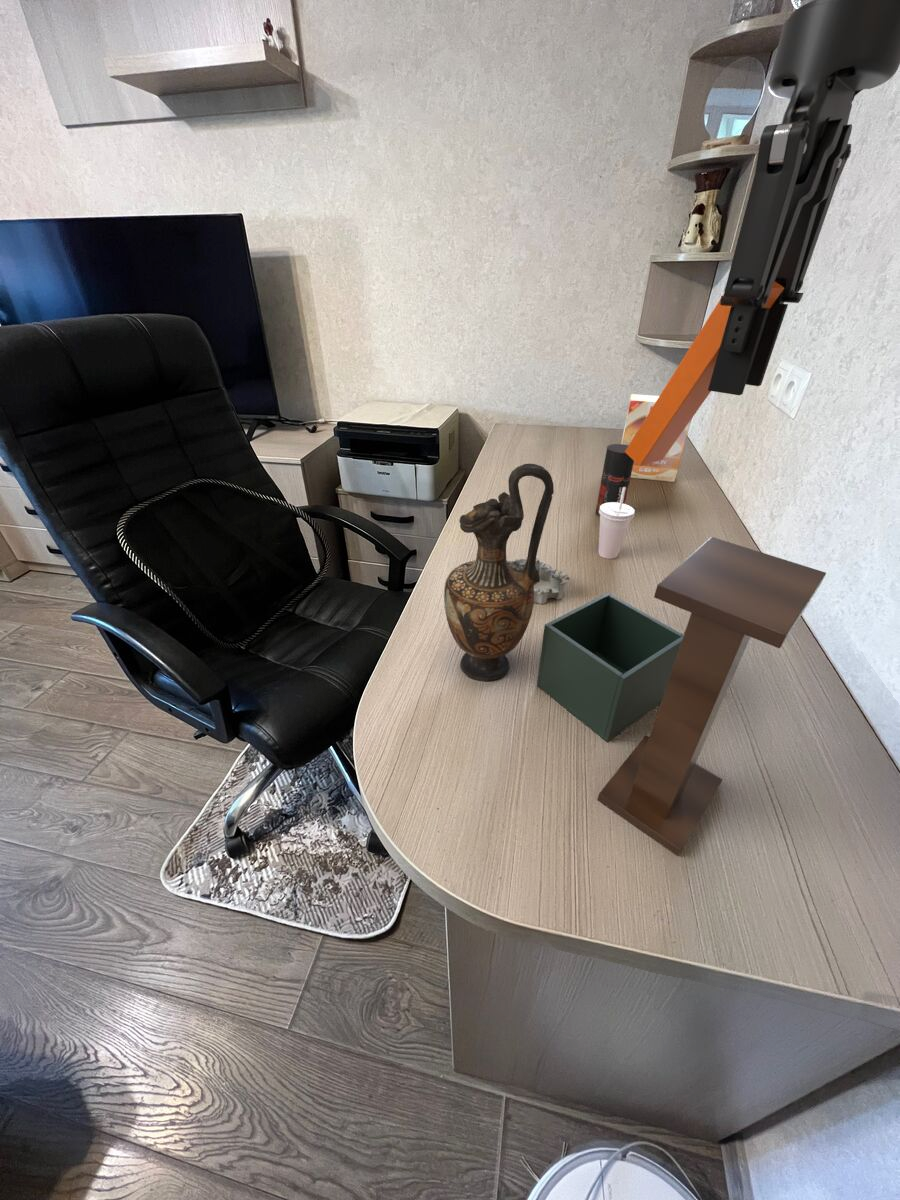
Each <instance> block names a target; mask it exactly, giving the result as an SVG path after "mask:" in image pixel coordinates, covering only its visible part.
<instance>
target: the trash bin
mask: <svg viewBox="0 0 900 1200" xmlns="http://www.w3.org/2000/svg"><path fill="white" fill-rule="evenodd" d="M683 636H684V634H683V633H681V632H680V631H677V630H676V629H674V628H672V627H671V626H669V625H666V624H665V623H663V622H661V621H660V620H658V619H656V618H655V617H653V616H651V615H649V614H647V613H645V612H643V611H642V610H640V609H638V608H637V607H635V606H633V605H631V604H629V603H627V602H625V601H624V600H622V599H620V598H618V597H617V596H615V595H613V594H611V592H606V593H604V594H602V595H599V596H598V597H596V598H594V599H592V600H590V601H588V602H586V603H584V604H582V605H580V606H578V607H576V608H574V609H572V610H570V611H568V612H567V613H565V614H563V615H560V616H559V617H557V618H555V619H553V620H550V621H549V622H547V623H545V624H544V626H543V635H542V642H541V648H540V649H541V650H540V657H539V664H538V672H537V679H536V680H537V681H536V686H537V687H538V688H539V689H541V691H543V692H544V693H546V694H547V696H549V697H550V698H552V699H553V700H554V701H555V702H557V703H558V704H559V705H560V706H561V707H562V708H564V709H565V710H566V711H567V712H569V713H570V714H571V715H573V716H574V717H575V718H576V719H578V720H579V721H580V722H581V723H582V724H584V725H585V726H586V727H587V728H589V729H590V730H591V731H593V732H594V733H595V734H596V735H598V737H600V738H601V739H602V740H604V741H605V742H606V743H609V742H610V741H611V740H613V739H614V738H616V737H617V736H619V735H620V734H621V733H623V732H624V731H625V730H626V729H628V728H629V727H630V726H632V725H633V724H635V723H636V722H637V721H638V720H641V718H643V717H645V715H647V714H648V713H650V712H652V710H654V709H655V708H656V707H658V706H660V704H661V701H662V698H663V695H664V692H665V689H666V686H667V684H668V681H669V678H670V675H671V672H672V669H673V666H674V663H675V660H676V657H677V654H678V651H679V648H680V645H681V642H682V639H683Z"/></svg>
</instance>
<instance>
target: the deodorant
mask: <svg viewBox="0 0 900 1200" xmlns="http://www.w3.org/2000/svg"><path fill="white" fill-rule="evenodd" d="M628 446H629V445H625V444H621V443H613V444H608V445H606V451H605V457H604V463H603V467H602V474H601V478H600V479H601V480H600V485H599V491H598V496H597V502H596V507H595V515H596V516H597V517H599V518H600V514H599V510H600V506H601V505H602V504H604V503H609V502H618V503H620V498H621V494H622V489H623V487H626V490H625V495H624V499H623V504H626V500H627V497H628V491H629V487H630V482H631V478H630V477H631V473H632V468H633V463H634V460H633V459H632V458H631V457H630V456H629V455H627V454H626V453H625V450H626V449H627V447H628Z"/></svg>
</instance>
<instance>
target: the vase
mask: <svg viewBox="0 0 900 1200" xmlns="http://www.w3.org/2000/svg"><path fill="white" fill-rule="evenodd" d="M524 477H533V478H536V479H538V480H540V481H542V483H543V485H544V490H543V493H542V497H541V499H540V502H539V505H538V508H537V512H536V514H535V515H536V516H535V519H534V523H533V527H532V531H531V535H530V541H529V545H528V549H527V550H528V551H527V557H526V558H527V562H526V565H525V568H524V570H523V569H521V568H520V567H518V566H516V565H515V564H512V563H509V562H507V561H508V559H507V544H508V540H509V538H510V536H511V535H512V534H513V532H517V531H518V530H519V529H520V528H521V527H522V524H523V520H524V517H525V515H524V514H525V513H524V507H523V502H522V498H521V494H520V487H519V484H520V483H519V482H520V480H521V479H522V478H524ZM507 483H508V493H507V492H506V491H503V492H501V493H500V494H499V495H498V496H497V499H496V498H489V499H488V500H487V501H485V502H480V503H477V504H475V505H473V506H472V508H473V509H472V510H471V511H469V512H467V513H466V514H461V516H460V517H459V519H458V520H459V527H460V530H461V531H462V532H463V533H466V534H472V533H473V535H474V536H475V539H476V541H477V550H476V558H475V560H470V561H467V562H464V563H461V564H460V565H458V566H457V567H455V568H454V569H452V570H451V571H450V572H449V574H448V575H447V578H446V580H445V582H444V583H445V584H444V591H443V592H444V593H443V595H444V596H443V599H444V600H443V601H444V612H445V616H446V617H445V618H446V622H447V624H448V628H449V630H450V633H451V636H452V638H453V640H454V641H455V643H456V644H457V646H458V647H459V648H460V649H461V650H462V651H463V652H464V654H463V655H462V657H461V659H460V662H459V664H460V665H459V666H460V670H461V671H462V672H463V674H464V675H465V676H466V677H468V678H470V679H472V680H475V681H480V682H491V681H495V680H499V679H502V678H503V677H504V676H505V675H507V673H508V672H509V671H510V667H511V665H510V660H509V658H508V657H507V654H508V653H510V652H511V651H513V650H514V649H515V648H516V647H517V646H518V644H519V643H520V642H521V640H522V638H523V637H524V635H525V634H526V631H527V629H528V626H529V623H530V620H531V617H532V615H533V609H534V604H535V603H534V584H535V583H537V582H539V581H540V575H539V572H538V571H537V569H536V565H535V564H536V558H537V555H538V551H539V547H540V542H541V538H542V535H543V532H544V528H545V525H546V520H547V517H548V514H549V511H550V510H549V509H550V507H551V504H552V502H553V501H552V500H553V495H554V493H555V489H554V488H555V487H554V481H553V477H552V474H551V473H550V472H549V471H548V470H547V469H546V468H545V467H544V466H542V465H539V464H536V463H523V464H521V465H519V466H516V467H515V468H514V469H512V471H511V473H510V474H509V477H508V482H507Z"/></svg>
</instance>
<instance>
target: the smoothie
mask: <svg viewBox="0 0 900 1200" xmlns="http://www.w3.org/2000/svg"><path fill="white" fill-rule="evenodd" d="M625 490H626V487H623V489H622V494H621V498H620V503H618V502H609V503H604V504H602V505H601V506H600V510H599V514H600V517H599V532H598V533H599V534H598V535H599V536H598V555H599V556H600V557H601V558H603V559H606V560H607V559H608V560H613V559H616V558H618V556H619V554H620V550H621V548H622V546H623V543H624V540H625V537H626V534H627V531H628V529H629V526H630V524H631V521H632V520H633V519H634V517H635V512H636V511H635V509H634V507H632V506H631V505H629V504H626V503H625V504H623V499H624V495H625Z"/></svg>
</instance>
